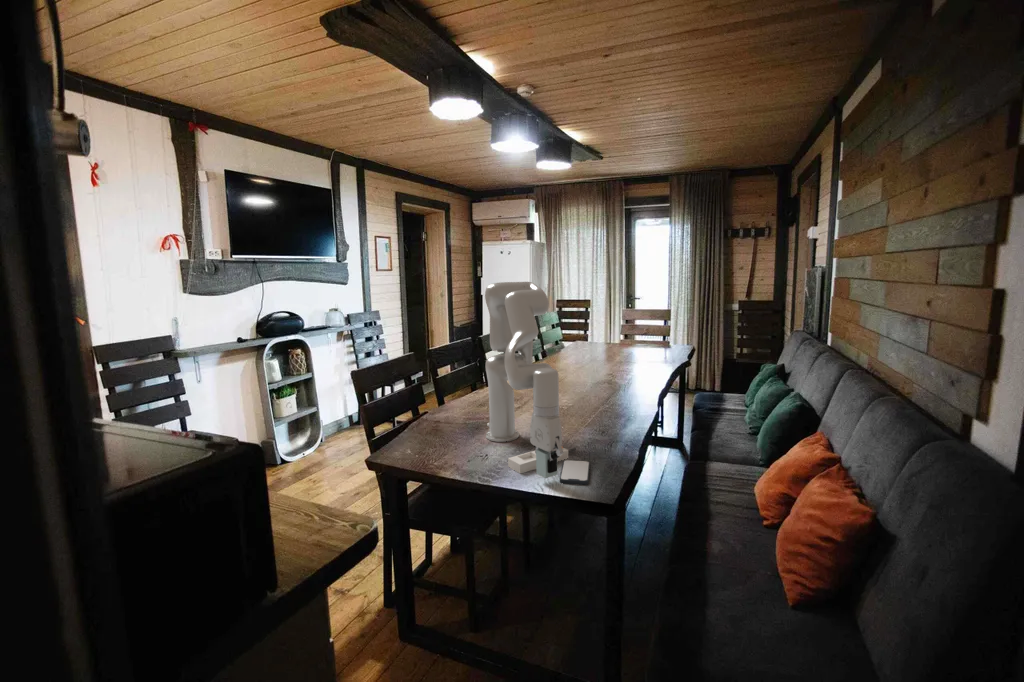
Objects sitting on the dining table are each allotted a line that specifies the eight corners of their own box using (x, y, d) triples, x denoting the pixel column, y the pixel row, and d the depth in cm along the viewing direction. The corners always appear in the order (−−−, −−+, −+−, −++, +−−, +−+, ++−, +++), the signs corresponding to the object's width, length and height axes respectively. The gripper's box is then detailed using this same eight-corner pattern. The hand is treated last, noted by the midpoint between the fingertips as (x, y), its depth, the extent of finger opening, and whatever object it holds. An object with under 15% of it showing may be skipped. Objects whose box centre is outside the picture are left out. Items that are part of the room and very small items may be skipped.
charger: (536, 473, 151) (536, 449, 149) (548, 469, 153) (547, 445, 152) (545, 478, 147) (545, 453, 146) (557, 474, 149) (557, 450, 148)
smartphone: (563, 464, 165) (558, 484, 150) (563, 459, 165) (558, 479, 149) (590, 465, 164) (588, 486, 148) (590, 461, 163) (588, 481, 148)
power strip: (508, 466, 162) (508, 456, 162) (569, 448, 177) (569, 438, 176) (519, 473, 157) (519, 462, 156) (581, 454, 171) (581, 444, 171)
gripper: (519, 406, 152) (520, 463, 155) (554, 419, 138) (555, 482, 141) (538, 401, 156) (539, 457, 159) (574, 414, 142) (575, 475, 145)
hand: (546, 468), depth 150 cm, fingers closed on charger, 4 cm apart
